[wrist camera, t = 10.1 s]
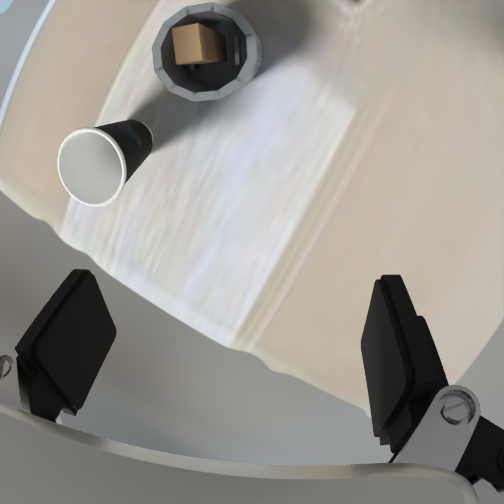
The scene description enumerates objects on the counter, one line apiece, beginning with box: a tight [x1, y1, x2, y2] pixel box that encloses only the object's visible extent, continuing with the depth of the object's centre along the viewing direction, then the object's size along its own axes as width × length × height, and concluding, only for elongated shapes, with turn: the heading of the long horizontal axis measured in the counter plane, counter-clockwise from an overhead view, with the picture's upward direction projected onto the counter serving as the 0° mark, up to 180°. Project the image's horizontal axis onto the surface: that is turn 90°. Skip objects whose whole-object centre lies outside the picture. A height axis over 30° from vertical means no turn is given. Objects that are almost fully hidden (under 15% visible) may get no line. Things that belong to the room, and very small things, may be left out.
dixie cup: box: [58, 120, 154, 207], centre depth 31 cm, size 8×8×11 cm
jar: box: [152, 3, 262, 102], centre depth 27 cm, size 9×9×7 cm
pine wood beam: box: [172, 23, 228, 65], centre depth 24 cm, size 2×3×11 cm, turn 5°
